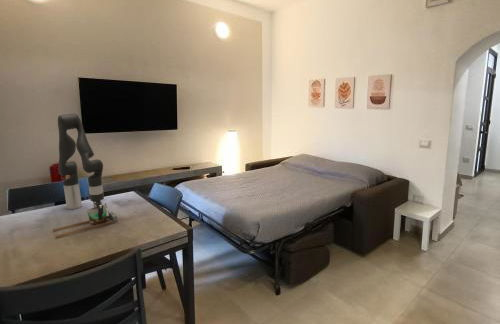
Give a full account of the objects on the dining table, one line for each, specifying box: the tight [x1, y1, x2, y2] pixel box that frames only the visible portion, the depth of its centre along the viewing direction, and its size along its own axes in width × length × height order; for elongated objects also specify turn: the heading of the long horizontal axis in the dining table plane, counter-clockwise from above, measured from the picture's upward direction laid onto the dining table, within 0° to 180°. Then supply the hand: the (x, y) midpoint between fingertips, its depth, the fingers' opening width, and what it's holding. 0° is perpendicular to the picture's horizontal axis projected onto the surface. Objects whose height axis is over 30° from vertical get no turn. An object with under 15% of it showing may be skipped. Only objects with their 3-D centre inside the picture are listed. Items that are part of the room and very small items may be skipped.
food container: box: [85, 203, 108, 225], centre depth 175 cm, size 12×6×10 cm, turn 143°
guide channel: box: [52, 211, 118, 239], centre depth 172 cm, size 11×32×4 cm, turn 131°
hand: (99, 218), depth 176 cm, fingers closed on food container, 5 cm apart
